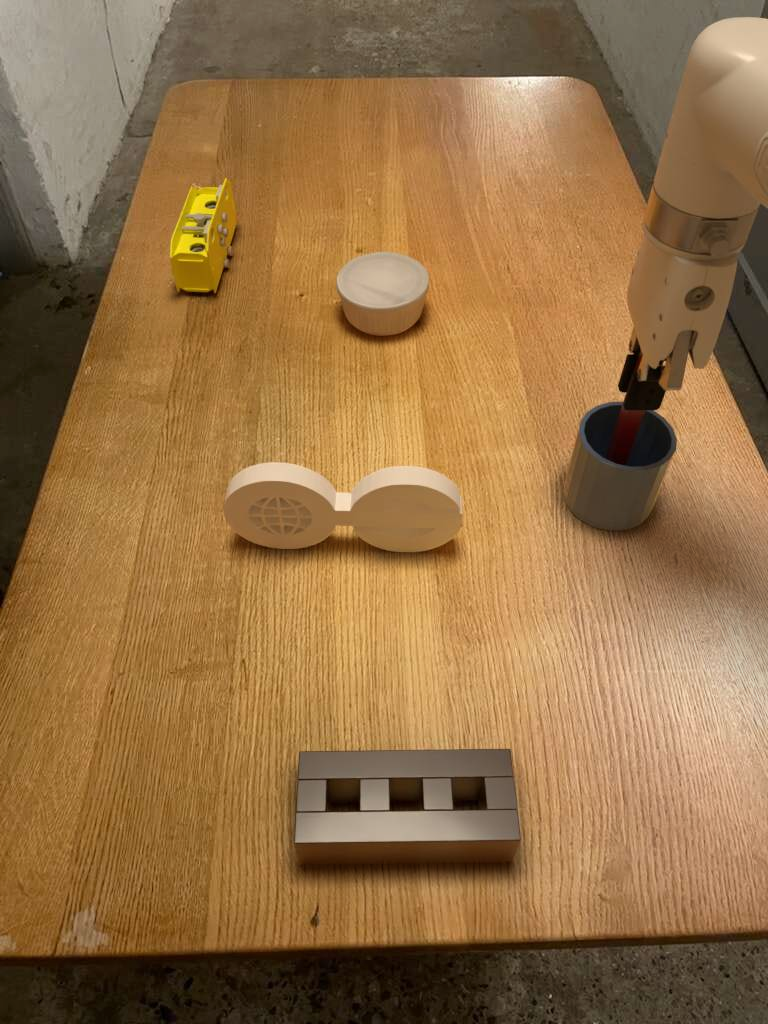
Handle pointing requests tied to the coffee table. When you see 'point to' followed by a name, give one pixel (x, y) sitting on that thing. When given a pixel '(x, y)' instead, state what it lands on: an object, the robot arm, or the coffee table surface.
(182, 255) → the yellow toy chassis
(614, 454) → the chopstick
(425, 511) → the contact lens case
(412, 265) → the ramekin
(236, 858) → the coffee table surface
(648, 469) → the cup
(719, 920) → the coffee table surface
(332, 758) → the holder
